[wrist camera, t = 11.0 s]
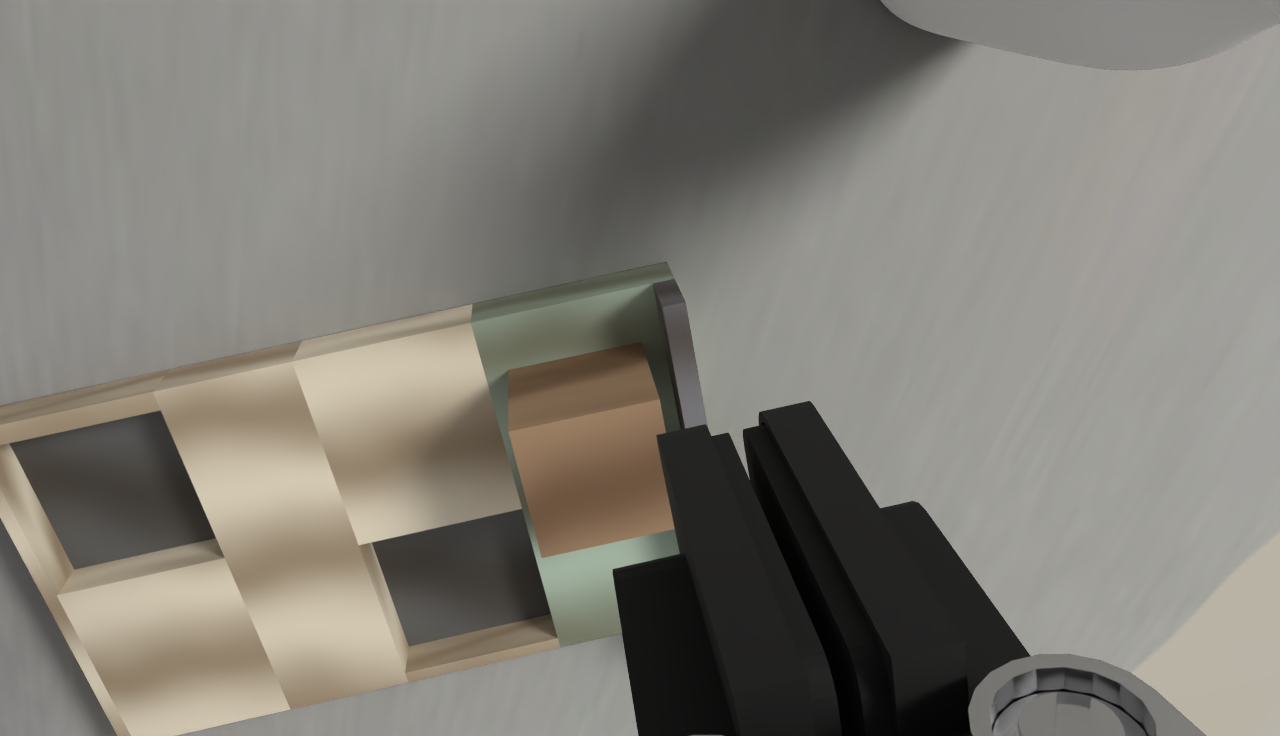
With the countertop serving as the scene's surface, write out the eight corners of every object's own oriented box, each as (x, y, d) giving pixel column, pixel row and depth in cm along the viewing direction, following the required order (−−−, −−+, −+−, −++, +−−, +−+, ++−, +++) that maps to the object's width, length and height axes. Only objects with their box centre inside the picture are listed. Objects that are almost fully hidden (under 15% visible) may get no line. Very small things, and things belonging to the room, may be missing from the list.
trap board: (-18, 409, 37) (-83, 469, 33) (666, 262, 38) (685, 301, 34) (139, 713, 43) (101, 794, 39) (724, 579, 44) (746, 646, 40)
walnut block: (508, 369, 37) (508, 431, 32) (641, 342, 37) (659, 399, 32) (537, 485, 39) (541, 558, 34) (663, 457, 39) (683, 527, 35)
